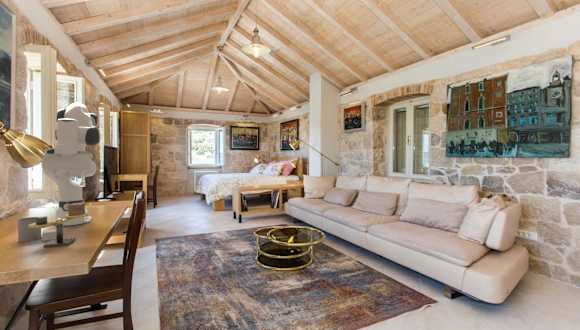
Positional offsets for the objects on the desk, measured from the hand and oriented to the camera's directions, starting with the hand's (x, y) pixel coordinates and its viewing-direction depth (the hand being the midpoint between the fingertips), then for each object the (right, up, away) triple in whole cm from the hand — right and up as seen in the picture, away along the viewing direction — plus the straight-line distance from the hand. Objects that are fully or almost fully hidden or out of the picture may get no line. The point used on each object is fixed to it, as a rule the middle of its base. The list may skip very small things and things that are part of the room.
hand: (68, 178), depth 140 cm
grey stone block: (-8, -30, -2) cm, 31 cm away
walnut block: (+10, -17, -7) cm, 21 cm away
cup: (-17, -30, -2) cm, 35 cm away
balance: (+3, -30, -9) cm, 32 cm away
